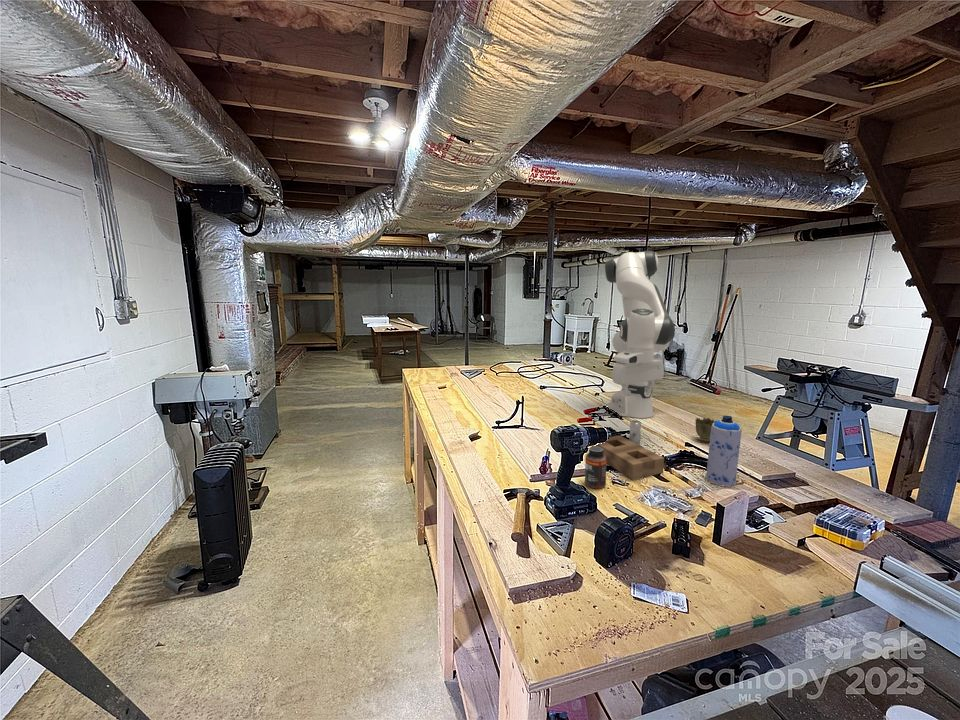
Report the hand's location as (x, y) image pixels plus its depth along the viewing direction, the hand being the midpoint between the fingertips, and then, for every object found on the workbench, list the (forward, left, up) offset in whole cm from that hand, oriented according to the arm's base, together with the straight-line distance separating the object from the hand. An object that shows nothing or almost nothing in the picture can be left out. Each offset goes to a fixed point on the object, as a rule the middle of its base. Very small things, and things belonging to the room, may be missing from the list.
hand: (637, 394), depth 136 cm
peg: (0, 0, -20) cm, 20 cm away
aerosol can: (+30, +5, -20) cm, 36 cm away
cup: (+7, +27, -20) cm, 34 cm away
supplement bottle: (+18, -31, -20) cm, 41 cm away
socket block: (+10, -13, -20) cm, 25 cm away
